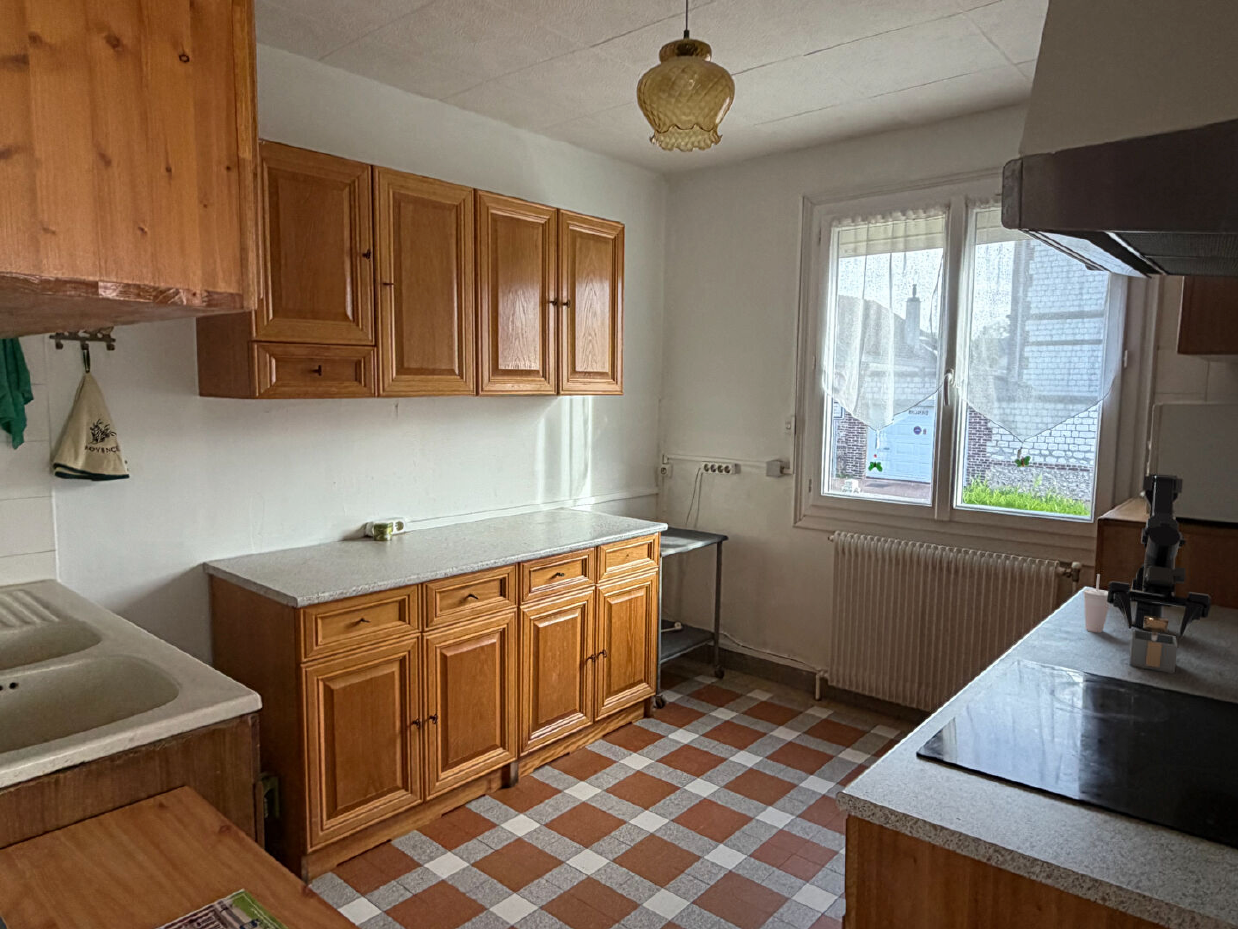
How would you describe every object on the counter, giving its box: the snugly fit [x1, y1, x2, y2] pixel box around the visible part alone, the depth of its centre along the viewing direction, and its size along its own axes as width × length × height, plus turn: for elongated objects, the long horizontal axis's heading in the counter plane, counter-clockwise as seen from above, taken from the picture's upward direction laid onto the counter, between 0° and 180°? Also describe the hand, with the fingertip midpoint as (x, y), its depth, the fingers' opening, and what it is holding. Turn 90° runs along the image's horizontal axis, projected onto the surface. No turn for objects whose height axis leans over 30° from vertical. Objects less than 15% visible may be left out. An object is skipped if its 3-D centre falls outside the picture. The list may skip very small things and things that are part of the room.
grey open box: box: [1128, 628, 1178, 674], centre depth 174 cm, size 9×8×6 cm
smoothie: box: [1082, 573, 1111, 633], centre depth 198 cm, size 6×6×14 cm
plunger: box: [1142, 616, 1169, 642], centre depth 175 cm, size 6×6×9 cm
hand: (1155, 632), depth 173 cm, fingers open, 9 cm apart
